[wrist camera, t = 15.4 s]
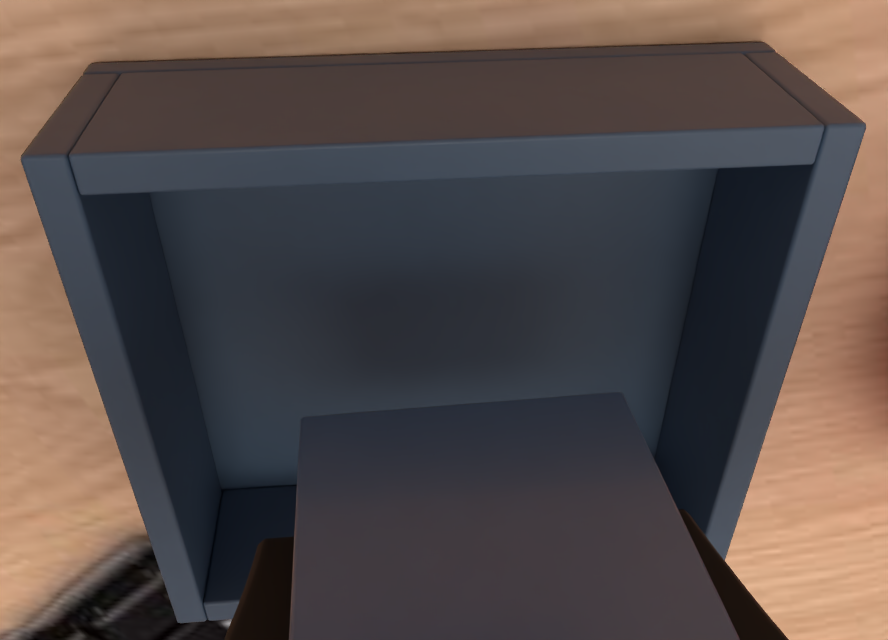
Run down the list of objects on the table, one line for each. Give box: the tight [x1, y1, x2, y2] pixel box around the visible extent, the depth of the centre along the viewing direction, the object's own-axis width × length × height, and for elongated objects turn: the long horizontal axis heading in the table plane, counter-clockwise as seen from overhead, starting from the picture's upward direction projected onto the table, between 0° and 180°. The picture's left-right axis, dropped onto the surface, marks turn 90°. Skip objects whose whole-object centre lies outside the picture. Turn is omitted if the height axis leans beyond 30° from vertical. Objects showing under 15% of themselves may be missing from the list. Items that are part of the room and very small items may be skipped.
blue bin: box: [21, 42, 866, 623], centre depth 15 cm, size 11×10×4 cm
